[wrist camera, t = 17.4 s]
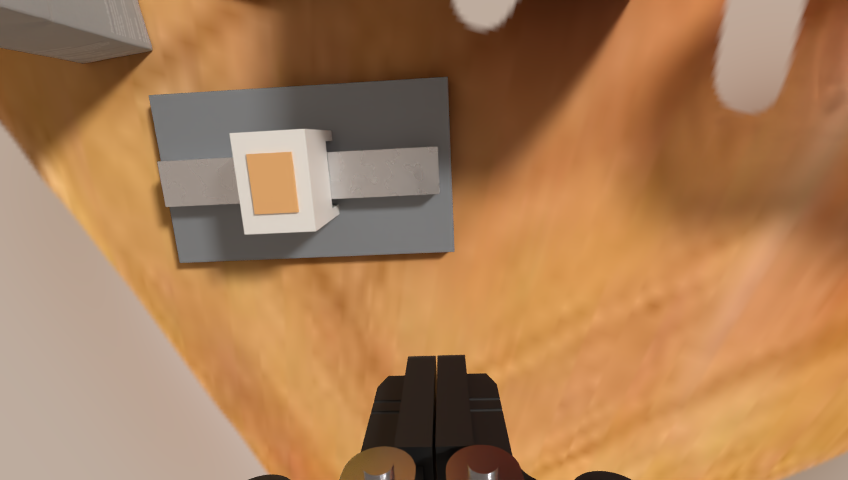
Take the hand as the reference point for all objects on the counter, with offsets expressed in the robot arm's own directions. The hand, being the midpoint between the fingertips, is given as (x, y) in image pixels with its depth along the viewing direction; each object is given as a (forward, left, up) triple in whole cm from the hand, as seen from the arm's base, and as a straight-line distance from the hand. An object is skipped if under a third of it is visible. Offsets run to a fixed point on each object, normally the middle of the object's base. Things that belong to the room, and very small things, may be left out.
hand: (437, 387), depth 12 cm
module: (+4, +11, -26) cm, 28 cm away
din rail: (+4, +11, -25) cm, 28 cm away
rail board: (+4, +11, -27) cm, 29 cm away
